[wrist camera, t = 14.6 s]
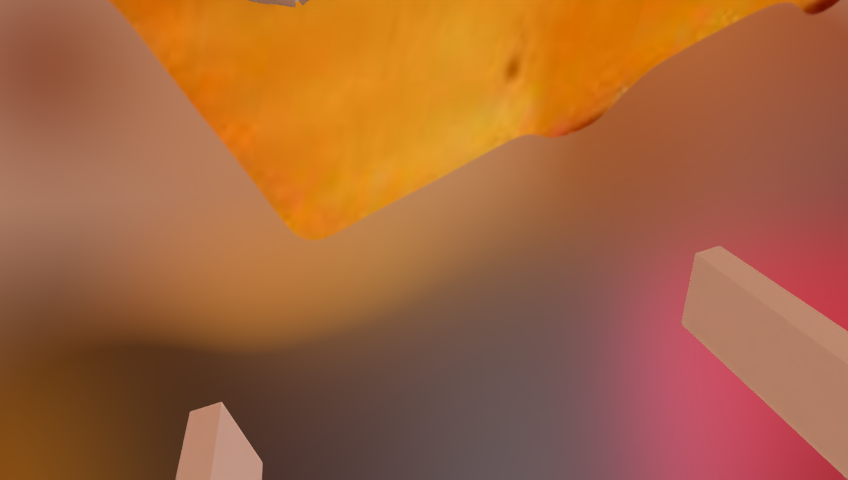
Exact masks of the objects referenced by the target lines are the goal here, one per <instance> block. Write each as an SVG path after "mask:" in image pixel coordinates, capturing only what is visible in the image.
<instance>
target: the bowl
mask: <svg viewBox="0 0 848 480" xmlns="http://www.w3.org/2000/svg"><path fill="white" fill-rule="evenodd" d="M250 1H254V2H258V3H265V4H278V5H284V6H290V7H295V2H298V1H300V2H301V4H302V5H304V4H305V3H306V2H307V1H308V0H250Z"/></svg>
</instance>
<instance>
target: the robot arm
mask: <svg viewBox="0 0 848 480" xmlns="http://www.w3.org/2000/svg"><path fill="white" fill-rule="evenodd" d="M681 324H682V325H683V326H684V327H685V328H686V329H687V330H689V331H690V332H691V333H692V334H693V335H694V336H695V337H696V338H697V339H698V340H699V341H700V342H701V343H702V344H703V345H704V346H706V347H707V348H708V349H709V350H710V351H711V352H712V353H713V354H714V355H715V356H716V357H717V358H718V359H719V360H721V361H722V362H723V363H724V364H725V365H726V366H727V367H728V368H729V369H730V370H731V371H732V372H733V373H734V374H736V375H737V376H738V377H739V378H740V379H741V380H742V381H743V382H744V383H745V384H746V385H747V386H748V387H749V388H750V389H752V390H753V391H754V392H755V393H756V394H757V395H758V396H759V397H760V398H761V399H763V401H764V402H766V404H768V405H769V406H770V407H771V408H772V409H773V410H774V411H775V412H776V413H777V414H778V415H779V416H780V417H782V418H783V419H784V420H785V421H786V422H787V423H788V424H789V425H790V426H791V427H792V428H793V429H794V430H795V431H796V432H798V433H799V434H800V435H801V436H802V437H803V438H804V439H805V440H806V441H807V442H808V443H809V444H810V445H811V446H812V447H814V448H815V449H816V450H817V451H818V452H819V453H820V454H821V455H822V456H823V457H824V458H825V459H826V460H828V461H829V462H830V463H831V464H832V465H833V466H834V467H835V468H836V469H837V470H838V471H839V472H840V473H842V475H843V476H845V477H846V478H847V479H848V331H846V330H845V329H843V328H841V327H840V326H839V325H837V324H836V323H834V322H833V321H831V320H830V319H828V318H827V317H825V316H824V315H822V314H821V313H819V312H818V311H816V310H815V309H813V308H812V307H810V306H809V305H807V304H806V303H804V302H803V301H802V300H800V299H798V298H797V297H796V296H794V295H792V294H791V293H790V292H788V291H787V290H785V289H784V288H782V287H781V286H779V285H778V284H776V283H775V282H773V281H772V280H770V279H769V278H767V277H766V276H764V275H763V274H761V273H760V272H758V271H757V270H755V269H754V268H752V267H751V266H749V265H748V264H746V263H745V262H743V261H742V260H740V259H739V258H737V257H736V256H734V255H733V254H731V253H730V252H728V251H727V250H726V249H724V248H723V247H721V246H717V247H715V248H711V249H708V250H705V251H702V252H698V253H696V255H695V259H694V264H693V269H692V274H691V279H690V284H689V289H688V293H687V298H686V303H685V308H684V313H683V318H682V323H681ZM176 480H262V461H261V460H260V458H259V457H258V455H257V454H256V453H255V451H254V449H253V448H252V446H251V445H250V443H249V442H248V440H247V439H246V438H245V436H244V434H243V433H242V432H241V430H240V429H239V427H238V426H237V424H236V423H235V421H234V420H233V418H232V417H231V415H230V414H229V412H228V411H227V409H226V408H225V406H224V405H223V403H222V402H220V403H217V404H213V405H210V406H207V407H204V408H201V409H197V410H194V411H191V412H190V414H189V420H188V424H187V429H186V434H185V438H184V443H183V448H182V453H181V457H180V462H179V467H178V471H177V476H176Z"/></svg>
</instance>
